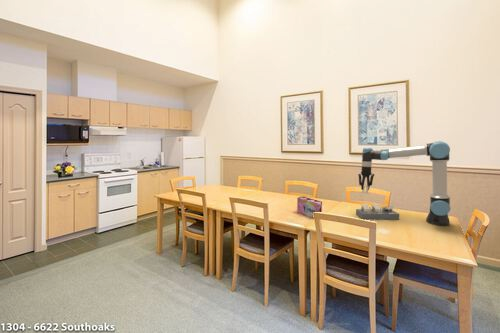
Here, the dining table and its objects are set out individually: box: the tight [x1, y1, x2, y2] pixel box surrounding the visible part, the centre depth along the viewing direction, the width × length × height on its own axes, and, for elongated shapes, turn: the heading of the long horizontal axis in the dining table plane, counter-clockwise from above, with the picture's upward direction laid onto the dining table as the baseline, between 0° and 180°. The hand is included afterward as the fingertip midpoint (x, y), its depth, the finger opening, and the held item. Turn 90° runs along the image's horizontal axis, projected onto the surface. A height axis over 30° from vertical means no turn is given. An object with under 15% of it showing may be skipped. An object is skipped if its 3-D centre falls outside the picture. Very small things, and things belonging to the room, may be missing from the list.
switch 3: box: [381, 205, 394, 210], centre depth 220 cm, size 5×9×2 cm, turn 179°
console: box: [355, 206, 400, 221], centre depth 219 cm, size 30×14×8 cm, turn 89°
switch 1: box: [360, 203, 372, 212], centre depth 220 cm, size 5×9×2 cm, turn 179°
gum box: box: [296, 196, 323, 219], centre depth 226 cm, size 24×8×14 cm, turn 33°
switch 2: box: [371, 203, 382, 212], centre depth 220 cm, size 5×9×2 cm, turn 179°
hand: (365, 193), depth 222 cm, fingers open, 3 cm apart
